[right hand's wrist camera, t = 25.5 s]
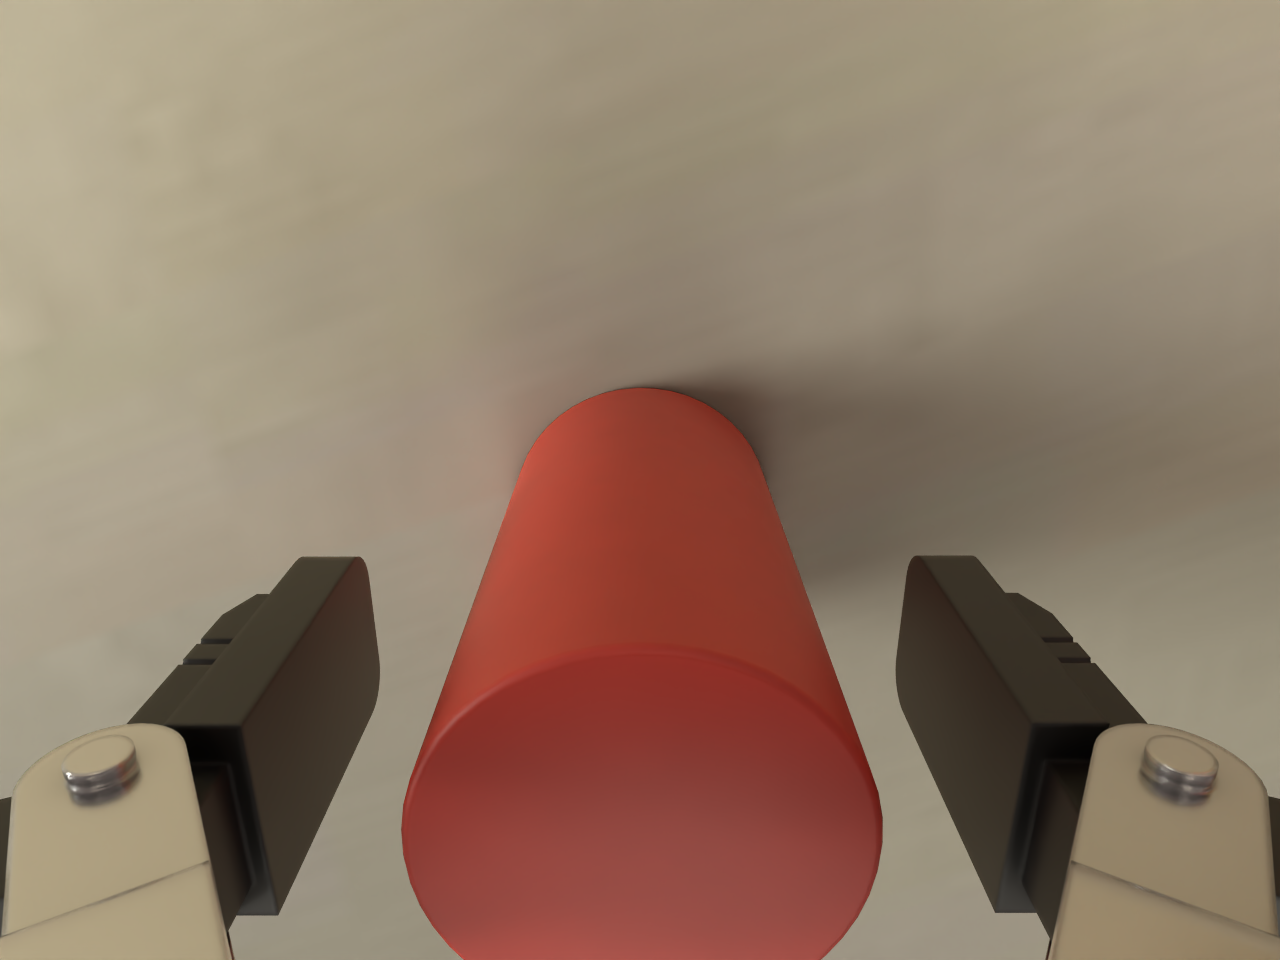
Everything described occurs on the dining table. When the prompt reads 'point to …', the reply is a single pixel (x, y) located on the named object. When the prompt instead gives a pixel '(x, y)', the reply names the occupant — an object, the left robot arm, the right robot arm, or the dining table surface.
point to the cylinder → (641, 716)
